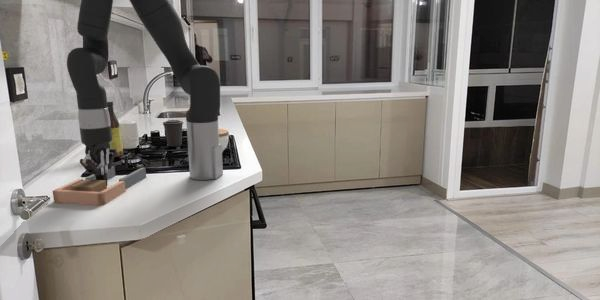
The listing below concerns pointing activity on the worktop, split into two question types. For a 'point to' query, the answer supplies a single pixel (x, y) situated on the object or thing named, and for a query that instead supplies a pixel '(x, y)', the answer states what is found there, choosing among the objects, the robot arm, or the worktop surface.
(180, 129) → the coffee cup
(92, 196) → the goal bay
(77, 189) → the walnut block
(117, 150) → the sauce bottle
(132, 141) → the white cup
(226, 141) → the lidded jar
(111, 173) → the tunnel
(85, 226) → the worktop surface
